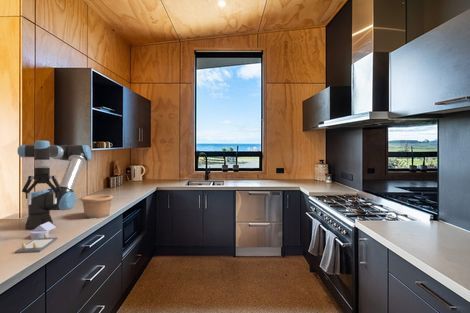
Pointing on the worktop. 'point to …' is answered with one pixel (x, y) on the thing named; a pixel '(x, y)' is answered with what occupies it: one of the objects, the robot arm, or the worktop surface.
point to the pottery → (96, 205)
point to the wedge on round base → (41, 230)
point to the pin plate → (36, 244)
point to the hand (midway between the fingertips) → (42, 204)
